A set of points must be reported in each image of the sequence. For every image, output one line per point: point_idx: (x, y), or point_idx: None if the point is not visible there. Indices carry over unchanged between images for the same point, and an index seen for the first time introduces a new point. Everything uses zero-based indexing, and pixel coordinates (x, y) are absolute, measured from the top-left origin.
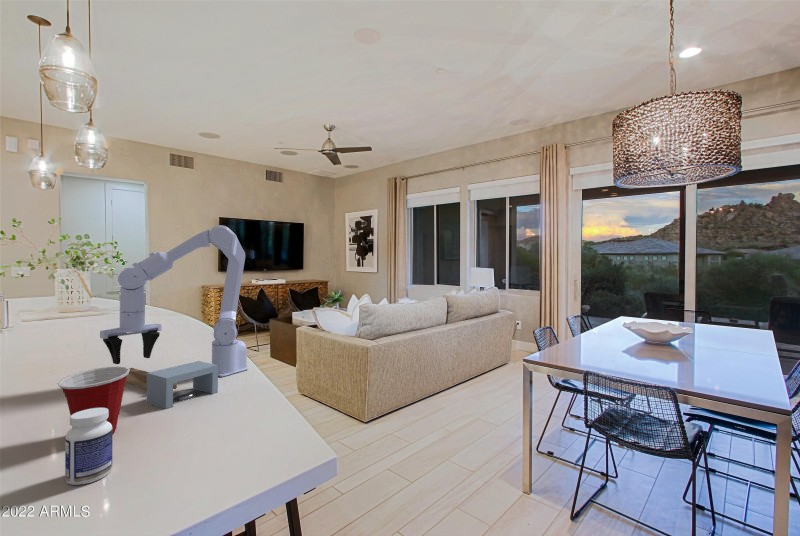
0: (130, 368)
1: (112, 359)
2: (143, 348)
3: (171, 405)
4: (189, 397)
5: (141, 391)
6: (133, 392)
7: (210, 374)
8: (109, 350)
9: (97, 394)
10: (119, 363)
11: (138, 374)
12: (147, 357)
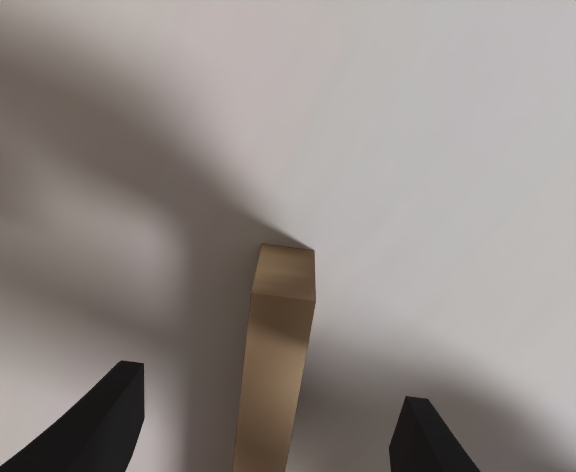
0: (293, 310)
1: (97, 386)
2: (441, 469)
3: None
4: None
5: (198, 460)
6: (169, 444)
7: None
8: (8, 468)
9: None
10: (140, 422)
11: (235, 446)
12: (391, 452)
